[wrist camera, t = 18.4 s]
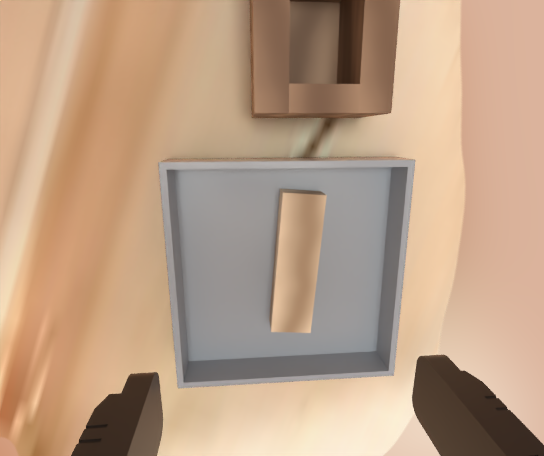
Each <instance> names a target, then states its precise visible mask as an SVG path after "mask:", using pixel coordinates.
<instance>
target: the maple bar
mask: <svg viewBox="0 0 544 456" xmlns="http://www.w3.org/2000/svg"><path fill="white" fill-rule="evenodd" d="M326 197H327V195H325V194H324V193H323V192H321V191H311V190H295V189H280V196H279V208H278V220H277V232H276V244H275V256H274V268H273V280H272V292H271V304H270V316H269V321H270V328H271V332H293V333H311V325H312V316H313V308H314V299H315V291H316V282H317V274H318V265H319V257H320V248H321V240H322V231H323V223H324V214H325V206H326Z"/></svg>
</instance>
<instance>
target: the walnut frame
mask: <svg viewBox="0 0 544 456" xmlns="http://www.w3.org/2000/svg"><path fill="white" fill-rule="evenodd" d="M399 7H400V0H250V33H251V89H252V118H361V117H368V116H374V115H381V114H388V113H391V108H392V95H393V83H394V70H395V58H396V45H397V33H398V20H399Z"/></svg>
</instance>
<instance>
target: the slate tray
mask: <svg viewBox="0 0 544 456" xmlns="http://www.w3.org/2000/svg"><path fill="white" fill-rule="evenodd" d="M158 164H159V175H160V187H161V199H162V210H163V222H164V233H165V245H166V257H167V268H168V280H169V291H170V303H171V315H172V326H173V338H174V349H175V361H176V373H177V384H178V388H192V387H209V386H226V385H243V384H260V383H276V382H293V381H310V380H327V379H344V378H361V377H377V376H394V368H395V358H396V348H397V338H398V328H399V318H400V308H401V298H402V288H403V278H404V268H405V258H406V248H407V238H408V228H409V218H410V208H411V198H412V188H413V178H414V168H415V160H413V159H406V158H399V157H349V158H241V159H167V160H164V161H161V162H158ZM280 189H295V190H311V191H321V192H323V193H324V194H325V195H327V197H326V206H325V214H324V223H323V231H322V240H321V248H320V257H319V265H318V274H317V282H316V291H315V299H314V308H313V316H312V325H311V333H293V332H271V328H270V321H269V316H270V304H271V292H272V280H273V268H274V256H275V244H276V232H277V220H278V208H279V196H280Z"/></svg>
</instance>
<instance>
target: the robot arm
mask: <svg viewBox="0 0 544 456" xmlns="http://www.w3.org/2000/svg"><path fill="white" fill-rule="evenodd" d="M412 402H413V408H414V411H415V414H416V416H417V418H418V420H419V422H420V423H421V425H422V427H423V428H424V430H425V431H426V433H427V435H428V436H429V438H430V439H431V441H432V443H433V444H434V446H435V447H436V449H437V450H438V452H439V454H440V455H441V456H544V445H543V444H542V443H541V442H540V441H539V440H538V439H537V438H536V437H535V436H534V434H533V433H532V432H531V431H530V430H529V429H528V428H527V427H526V426H525V425H524V424H523V423H522V422H521V421H520V420H519V419H518V418H517V417H516V416H515V415H514V414H513V413H512V412H511V411H510V410H508V409H507V407H506V406H505V405H504V404H503V403H502V401H501V400H500V399H499V398H496V395H495V394H494V393H493V392H492V391H491V390H490V389H489V388H488V387H487V386H486V385H485V384H484V383H483V382H482V381H480V380H479V379H477V378H476V377H474V376H472V375H471V374H469V373H468V372H466V371H460V370H459V368H458V367H457V366H456V365H455V364H454V363H453V362H452V361H451V360H450V359H449V358H448V357H447V356H445V355H431V356H420V357H419V358H418V360H417V365H416V372H415V380H414V387H413V395H412ZM162 428H163V412H162V402H161V393H160V384H159V376H158V373H157V372H153V373H138V374H130V375H129V377H128V379H127V381H126V384H125V386H124V388H123V391H122V393H121V394H109V395H108V396H107V397H106V398H105V399H104V400H103V401H102V402H101V403H100V404H99V405H98V406H97V407H96V408H95V409H94V411H93V413H92V415H91V417H90V419H89V421H88V423H87V425H86V429H84V431H83V433H82V435H81V437H80V439H79V443H78V444H77V445H76V447H75V449H74V451H73V453H72V455H71V456H157V453H158V449H159V445H160V441H161V436H162Z"/></svg>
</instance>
